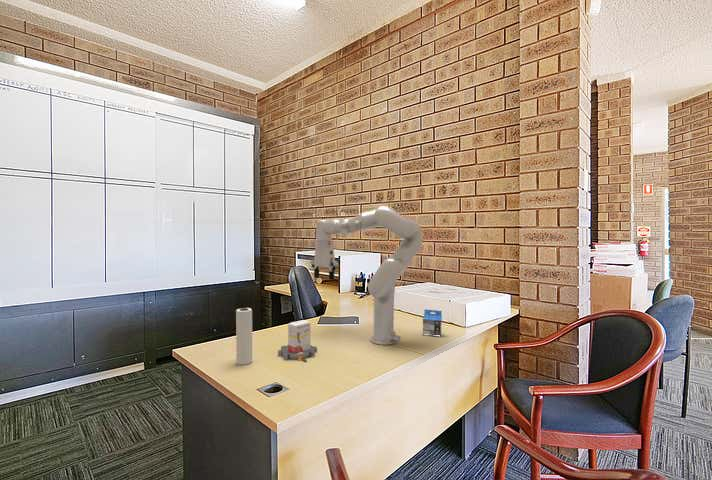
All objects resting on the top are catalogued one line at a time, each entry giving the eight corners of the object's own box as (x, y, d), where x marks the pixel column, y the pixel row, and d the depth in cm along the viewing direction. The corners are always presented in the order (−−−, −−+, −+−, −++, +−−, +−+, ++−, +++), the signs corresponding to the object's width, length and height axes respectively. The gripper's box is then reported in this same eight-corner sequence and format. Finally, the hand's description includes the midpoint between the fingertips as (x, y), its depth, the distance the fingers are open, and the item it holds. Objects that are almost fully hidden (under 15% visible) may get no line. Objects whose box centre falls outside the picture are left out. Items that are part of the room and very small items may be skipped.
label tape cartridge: (422, 335, 179) (422, 310, 178) (423, 333, 182) (424, 309, 182) (440, 337, 175) (440, 312, 175) (441, 335, 179) (441, 310, 179)
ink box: (295, 354, 146) (295, 325, 145) (287, 351, 149) (287, 323, 149) (311, 349, 152) (310, 321, 152) (303, 346, 155) (303, 319, 155)
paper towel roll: (243, 366, 138) (243, 311, 137) (233, 363, 141) (232, 309, 141) (257, 360, 144) (257, 308, 144) (247, 357, 147) (247, 306, 147)
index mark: (302, 360, 145) (302, 359, 145) (305, 359, 145) (305, 359, 145) (304, 362, 143) (304, 361, 143) (307, 361, 143) (307, 361, 143)
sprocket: (312, 345, 163) (312, 332, 163) (320, 358, 147) (320, 343, 147) (276, 349, 158) (276, 335, 158) (280, 362, 142) (280, 347, 142)
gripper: (342, 244, 177) (342, 278, 177) (316, 243, 187) (316, 276, 187) (332, 245, 171) (332, 280, 171) (306, 244, 181) (306, 277, 181)
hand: (324, 278), depth 179 cm, fingers open, 9 cm apart
